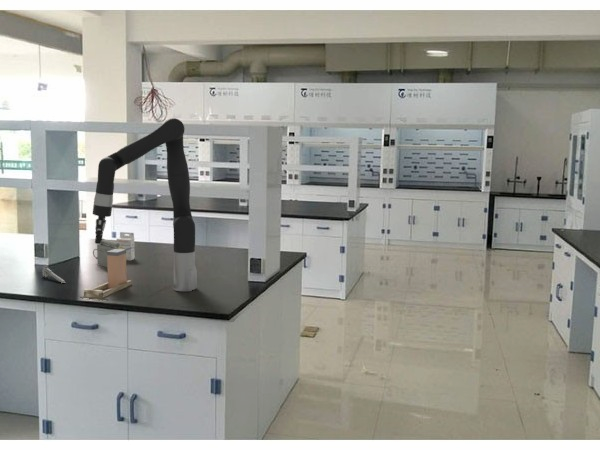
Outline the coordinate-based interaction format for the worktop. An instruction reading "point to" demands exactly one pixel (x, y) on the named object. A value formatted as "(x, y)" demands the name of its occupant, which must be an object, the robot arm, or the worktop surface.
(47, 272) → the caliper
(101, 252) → the geiger counter
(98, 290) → the chute
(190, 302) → the worktop surface
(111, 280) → the block
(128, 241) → the ink cartridge box
